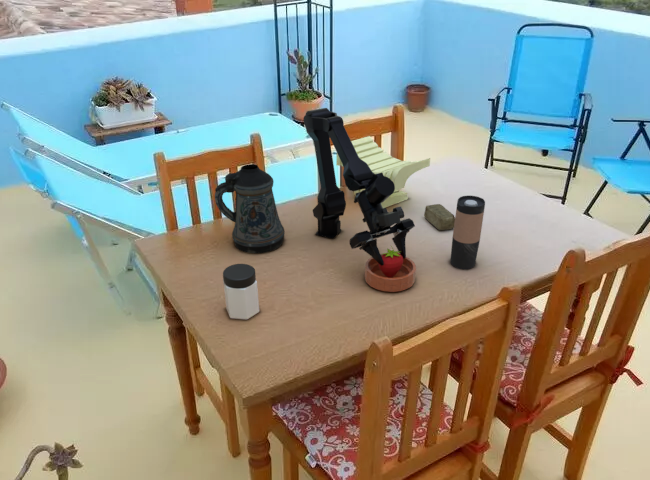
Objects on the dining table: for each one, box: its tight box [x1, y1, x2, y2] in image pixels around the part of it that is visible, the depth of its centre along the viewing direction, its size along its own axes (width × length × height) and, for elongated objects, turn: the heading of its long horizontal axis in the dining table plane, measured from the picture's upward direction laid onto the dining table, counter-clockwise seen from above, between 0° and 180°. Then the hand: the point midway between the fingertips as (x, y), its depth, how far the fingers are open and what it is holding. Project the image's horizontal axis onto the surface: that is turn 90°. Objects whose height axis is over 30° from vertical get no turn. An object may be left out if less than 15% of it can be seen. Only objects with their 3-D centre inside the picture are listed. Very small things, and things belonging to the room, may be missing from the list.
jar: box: [222, 263, 260, 320], centre depth 150 cm, size 9×8×12 cm
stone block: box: [423, 203, 455, 231], centre depth 193 cm, size 6×12×5 cm, turn 19°
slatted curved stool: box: [336, 135, 431, 208], centre depth 207 cm, size 30×16×18 cm, turn 38°
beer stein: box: [214, 163, 286, 254], centre depth 178 cm, size 16×19×25 cm
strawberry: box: [378, 245, 403, 278], centre depth 162 cm, size 6×8×10 cm
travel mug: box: [450, 195, 486, 270], centre depth 167 cm, size 8×8×20 cm
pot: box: [364, 253, 417, 293], centre depth 164 cm, size 14×14×5 cm
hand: (393, 261), depth 160 cm, fingers closed on strawberry, 7 cm apart
